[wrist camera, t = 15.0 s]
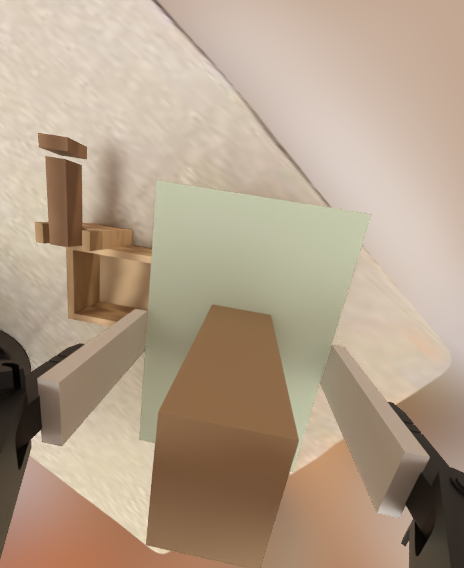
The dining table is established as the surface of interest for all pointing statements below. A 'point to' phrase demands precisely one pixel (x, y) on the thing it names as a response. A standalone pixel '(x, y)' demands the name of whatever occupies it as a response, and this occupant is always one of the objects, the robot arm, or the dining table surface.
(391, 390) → the dining table surface
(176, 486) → the lid
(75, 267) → the toolbox
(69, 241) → the bar
